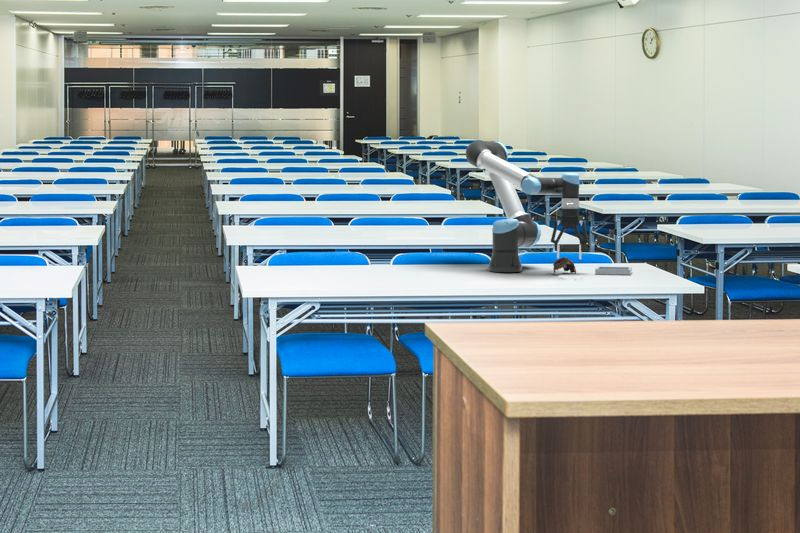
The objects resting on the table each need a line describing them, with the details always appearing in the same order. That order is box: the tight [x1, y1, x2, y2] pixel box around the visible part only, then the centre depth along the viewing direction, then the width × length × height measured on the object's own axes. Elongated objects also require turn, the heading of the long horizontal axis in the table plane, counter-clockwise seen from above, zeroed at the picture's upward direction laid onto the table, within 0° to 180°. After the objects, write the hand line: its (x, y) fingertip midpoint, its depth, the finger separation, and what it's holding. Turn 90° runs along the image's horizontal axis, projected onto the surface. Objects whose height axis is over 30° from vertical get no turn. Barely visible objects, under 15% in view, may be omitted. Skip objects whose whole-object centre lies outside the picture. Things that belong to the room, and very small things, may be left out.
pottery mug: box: [552, 256, 577, 274], centre depth 478 cm, size 12×9×8 cm
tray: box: [594, 266, 633, 276], centre depth 477 cm, size 15×16×2 cm
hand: (569, 258), depth 478 cm, fingers open, 9 cm apart
